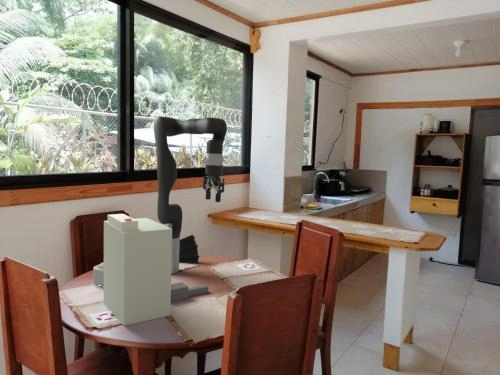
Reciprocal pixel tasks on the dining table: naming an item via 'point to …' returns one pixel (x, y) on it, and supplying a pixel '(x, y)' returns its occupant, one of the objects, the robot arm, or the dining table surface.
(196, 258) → the black ridged fan wedge
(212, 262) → the dining table surface
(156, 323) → the dining table surface
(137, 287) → the pale grey tall block
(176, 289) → the block
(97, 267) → the lumpy-topped squat cylinder
